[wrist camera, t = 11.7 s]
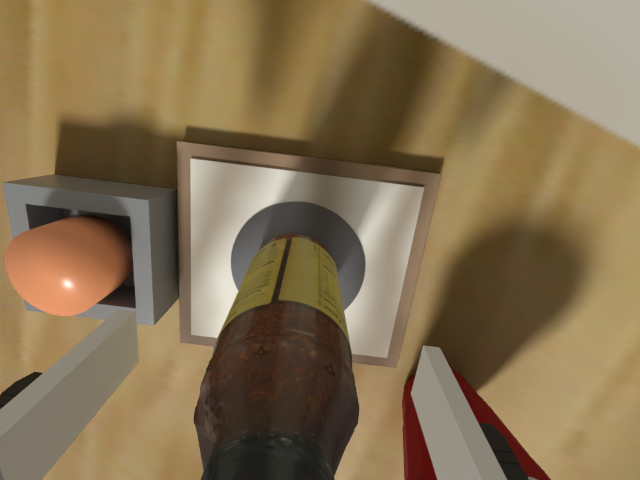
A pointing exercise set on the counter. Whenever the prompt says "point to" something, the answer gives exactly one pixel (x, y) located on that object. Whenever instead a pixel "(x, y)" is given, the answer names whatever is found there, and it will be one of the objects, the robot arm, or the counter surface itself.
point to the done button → (69, 263)
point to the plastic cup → (414, 445)
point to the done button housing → (129, 216)
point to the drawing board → (305, 219)
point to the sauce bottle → (280, 372)
